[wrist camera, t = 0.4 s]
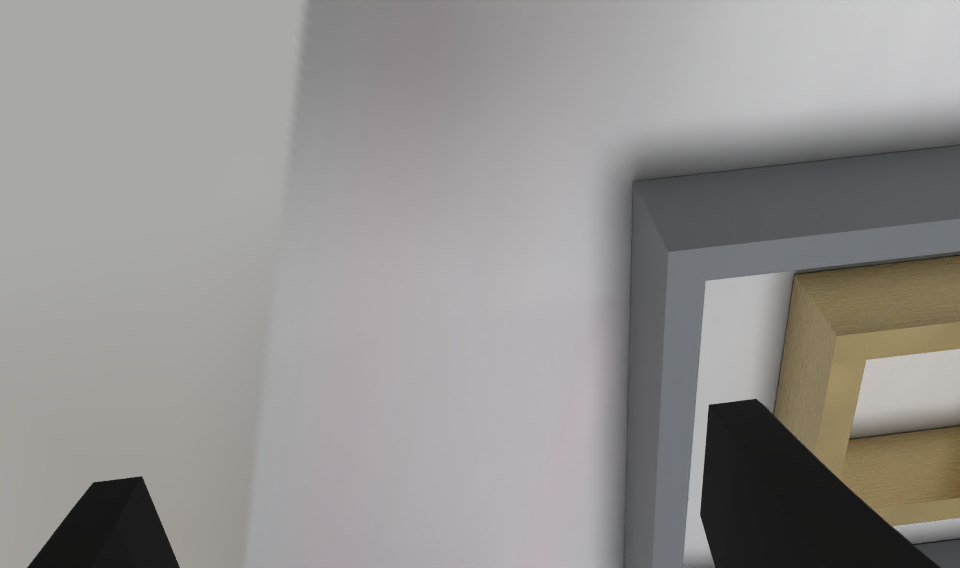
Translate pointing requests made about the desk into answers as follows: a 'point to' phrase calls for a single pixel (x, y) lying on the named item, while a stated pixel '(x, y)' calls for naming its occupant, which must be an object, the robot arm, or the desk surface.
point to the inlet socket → (838, 374)
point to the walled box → (743, 252)
